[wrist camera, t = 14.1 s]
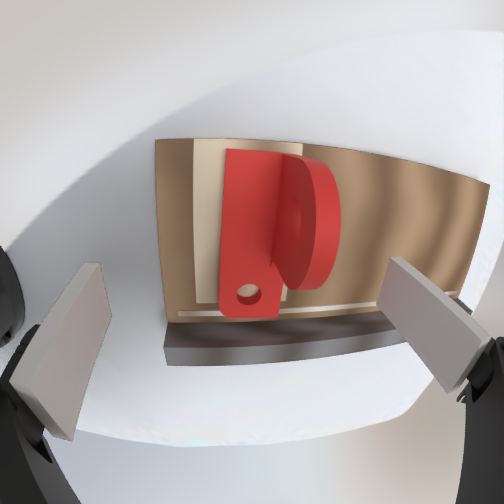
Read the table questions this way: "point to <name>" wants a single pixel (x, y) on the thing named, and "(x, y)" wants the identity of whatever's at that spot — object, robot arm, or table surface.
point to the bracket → (275, 229)
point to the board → (346, 264)
